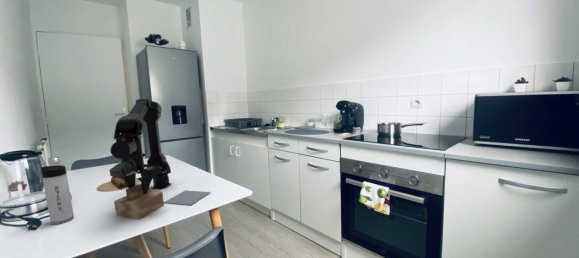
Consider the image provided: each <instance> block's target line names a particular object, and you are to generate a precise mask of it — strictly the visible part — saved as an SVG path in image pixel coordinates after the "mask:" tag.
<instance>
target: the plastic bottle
mask: <svg viewBox="0 0 579 258" xmlns="http://www.w3.org/2000/svg"><path fill="white" fill-rule="evenodd" d="M61 162H62V160H61V156H55V157H49V158H47V164H48V166H56V165H61V166H65V165H64V164H62V163H61ZM65 168H66V173H67V174H68V170H67V167H66V166H65ZM70 196H71V202H73V196H72V193H71V192H70Z"/></svg>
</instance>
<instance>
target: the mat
mask: <svg viewBox="0 0 579 258" xmlns="http://www.w3.org/2000/svg"><path fill="white" fill-rule="evenodd" d="M210 194H211V191H201V190H200V191H199V190H184V191H182V192H180V193H178V194H176V195H174V196H173V197H170V198H169V199H167V200H165V201H164V204H169V205H178V206H179V205H180V206H190V207H191V206H193V205H194V204H196V203H197V202H199V201H201V200H203V199H204V198H205V197H207V196H208V195H210Z"/></svg>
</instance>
